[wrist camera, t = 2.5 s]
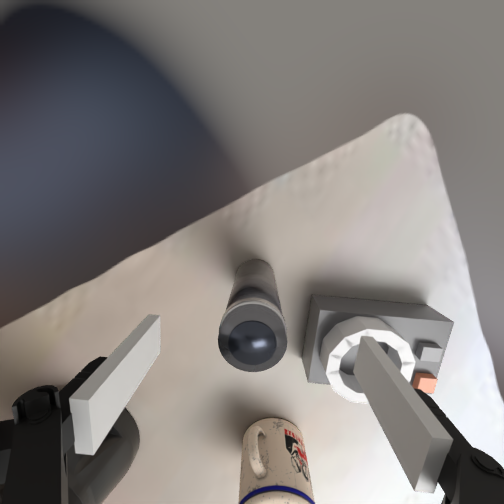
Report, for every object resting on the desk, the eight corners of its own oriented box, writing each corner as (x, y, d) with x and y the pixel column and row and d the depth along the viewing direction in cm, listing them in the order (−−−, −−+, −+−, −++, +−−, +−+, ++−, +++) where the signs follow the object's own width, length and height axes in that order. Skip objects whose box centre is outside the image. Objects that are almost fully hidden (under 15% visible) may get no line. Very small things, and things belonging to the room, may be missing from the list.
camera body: (301, 359, 31) (312, 401, 25) (311, 294, 29) (326, 322, 22) (409, 369, 31) (448, 413, 24) (427, 305, 29) (475, 335, 22)
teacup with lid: (313, 454, 34) (341, 581, 23) (256, 471, 36) (255, 601, 24) (283, 390, 32) (296, 496, 21) (222, 410, 33) (203, 522, 22)
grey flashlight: (233, 294, 29) (214, 371, 16) (236, 256, 28) (218, 307, 15) (273, 298, 29) (284, 378, 16) (277, 260, 28) (293, 314, 15)
